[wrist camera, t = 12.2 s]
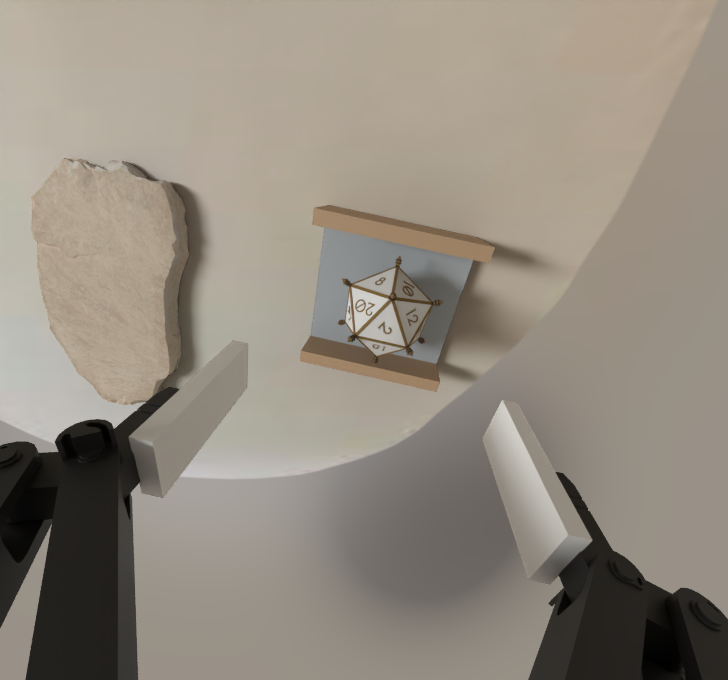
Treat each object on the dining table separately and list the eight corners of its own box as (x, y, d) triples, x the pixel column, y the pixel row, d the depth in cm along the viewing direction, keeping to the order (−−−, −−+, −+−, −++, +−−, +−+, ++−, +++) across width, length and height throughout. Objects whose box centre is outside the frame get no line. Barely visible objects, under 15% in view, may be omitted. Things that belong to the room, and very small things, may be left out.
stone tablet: (199, 188, 29) (182, 188, 27) (177, 413, 42) (165, 424, 40) (28, 120, 28) (-4, 114, 26) (61, 371, 41) (42, 381, 39)
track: (329, 205, 28) (313, 207, 23) (478, 237, 28) (495, 247, 23) (311, 341, 34) (296, 366, 29) (432, 368, 34) (437, 397, 29)
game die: (375, 299, 34) (308, 344, 28) (391, 229, 28) (308, 269, 22) (441, 344, 31) (380, 405, 25) (476, 277, 25) (405, 337, 19)
